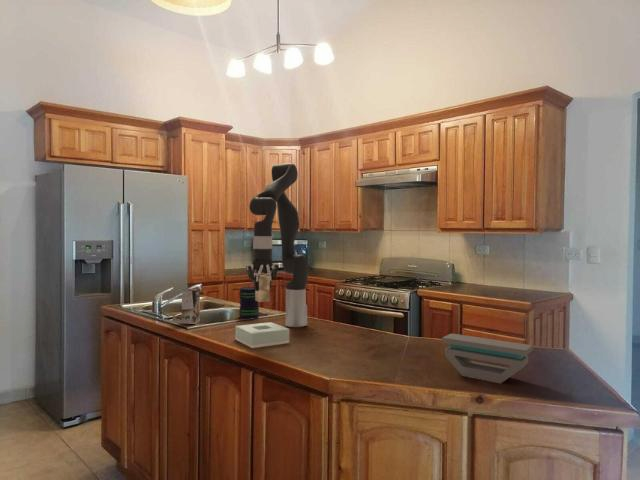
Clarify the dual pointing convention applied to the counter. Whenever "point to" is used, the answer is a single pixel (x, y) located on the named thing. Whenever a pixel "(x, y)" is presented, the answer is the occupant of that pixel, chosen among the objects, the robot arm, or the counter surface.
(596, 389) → the counter surface
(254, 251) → the robot arm
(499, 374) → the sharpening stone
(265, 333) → the socket block
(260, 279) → the peg
